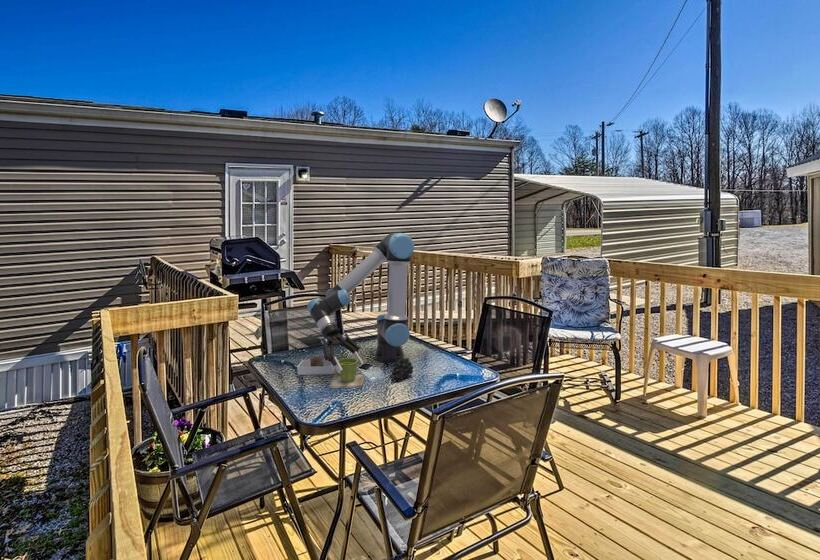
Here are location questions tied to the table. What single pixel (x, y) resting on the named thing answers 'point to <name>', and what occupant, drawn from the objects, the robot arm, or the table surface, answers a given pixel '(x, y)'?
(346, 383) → the ash board
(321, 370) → the grey tray
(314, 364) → the walnut block
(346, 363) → the plant pot
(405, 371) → the fruit
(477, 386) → the table surface
